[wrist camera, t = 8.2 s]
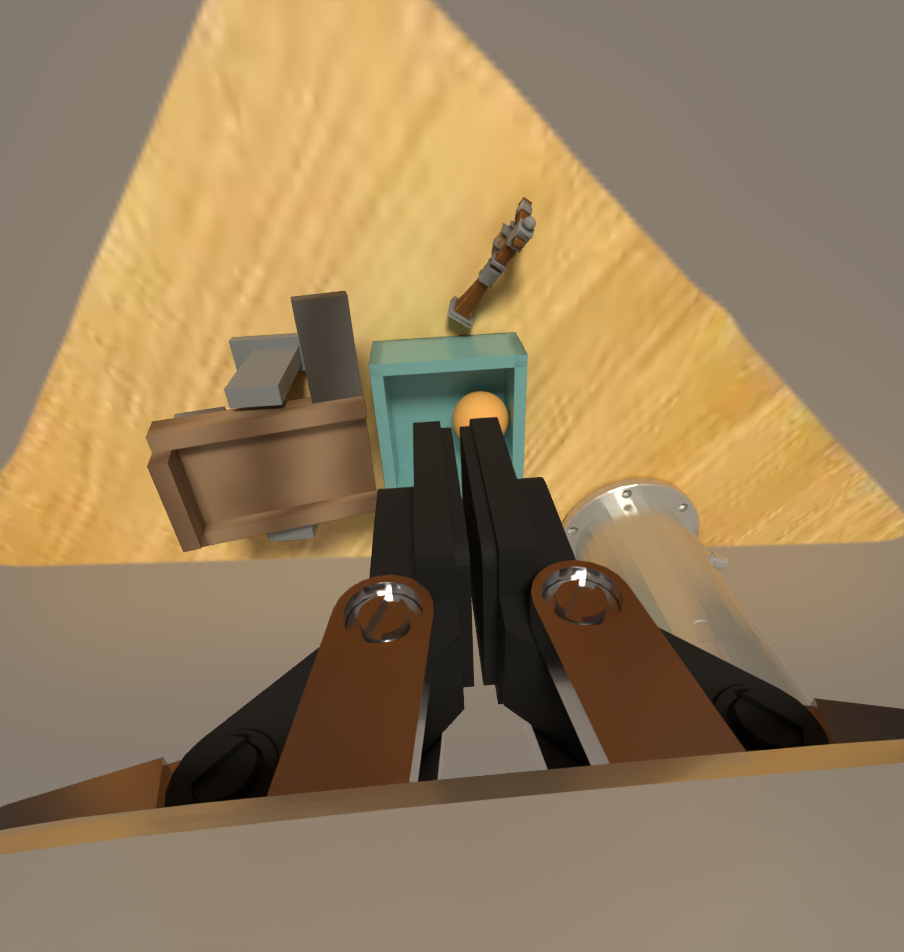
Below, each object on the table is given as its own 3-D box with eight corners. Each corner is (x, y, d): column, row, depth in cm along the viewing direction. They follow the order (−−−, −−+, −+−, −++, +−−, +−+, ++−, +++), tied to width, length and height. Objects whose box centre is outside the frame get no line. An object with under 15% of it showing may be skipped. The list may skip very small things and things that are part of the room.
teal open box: (515, 332, 37) (527, 354, 33) (512, 461, 43) (522, 492, 39) (372, 341, 36) (368, 364, 33) (389, 470, 42) (387, 502, 38)
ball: (433, 406, 37) (466, 386, 39) (451, 457, 38) (482, 435, 41) (478, 400, 34) (510, 379, 37) (495, 455, 35) (525, 431, 38)
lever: (339, 279, 32) (353, 306, 27) (368, 472, 40) (384, 523, 34) (124, 302, 29) (92, 337, 24) (200, 504, 37) (188, 564, 32)
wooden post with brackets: (549, 196, 32) (545, 235, 29) (477, 291, 38) (469, 330, 35) (524, 178, 31) (518, 216, 28) (456, 277, 37) (446, 317, 34)
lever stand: (321, 331, 36) (302, 373, 30) (348, 482, 43) (337, 543, 36) (232, 337, 36) (194, 380, 29) (273, 487, 42) (249, 549, 36)
